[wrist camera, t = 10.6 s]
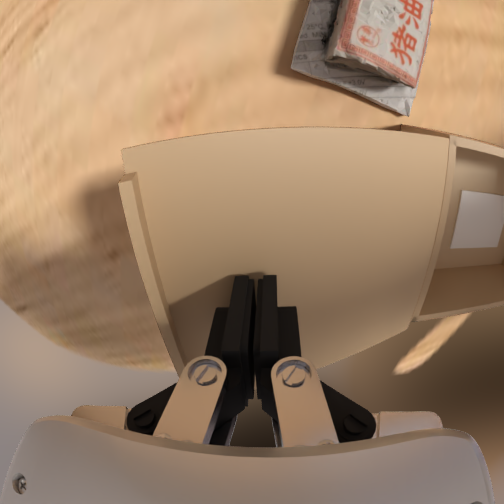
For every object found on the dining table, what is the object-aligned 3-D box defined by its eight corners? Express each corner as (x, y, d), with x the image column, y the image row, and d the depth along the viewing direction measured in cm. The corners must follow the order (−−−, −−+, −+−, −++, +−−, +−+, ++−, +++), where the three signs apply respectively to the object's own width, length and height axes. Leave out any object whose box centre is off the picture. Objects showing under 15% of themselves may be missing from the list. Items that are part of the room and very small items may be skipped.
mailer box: (524, 154, 16) (566, 174, 10) (499, 265, 23) (530, 297, 17) (400, 124, 18) (449, 135, 12) (383, 273, 24) (410, 322, 18)
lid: (112, 155, 6) (123, 148, 8) (200, 422, 13) (194, 396, 14) (468, 144, 10) (442, 136, 11) (418, 340, 16) (403, 325, 18)
